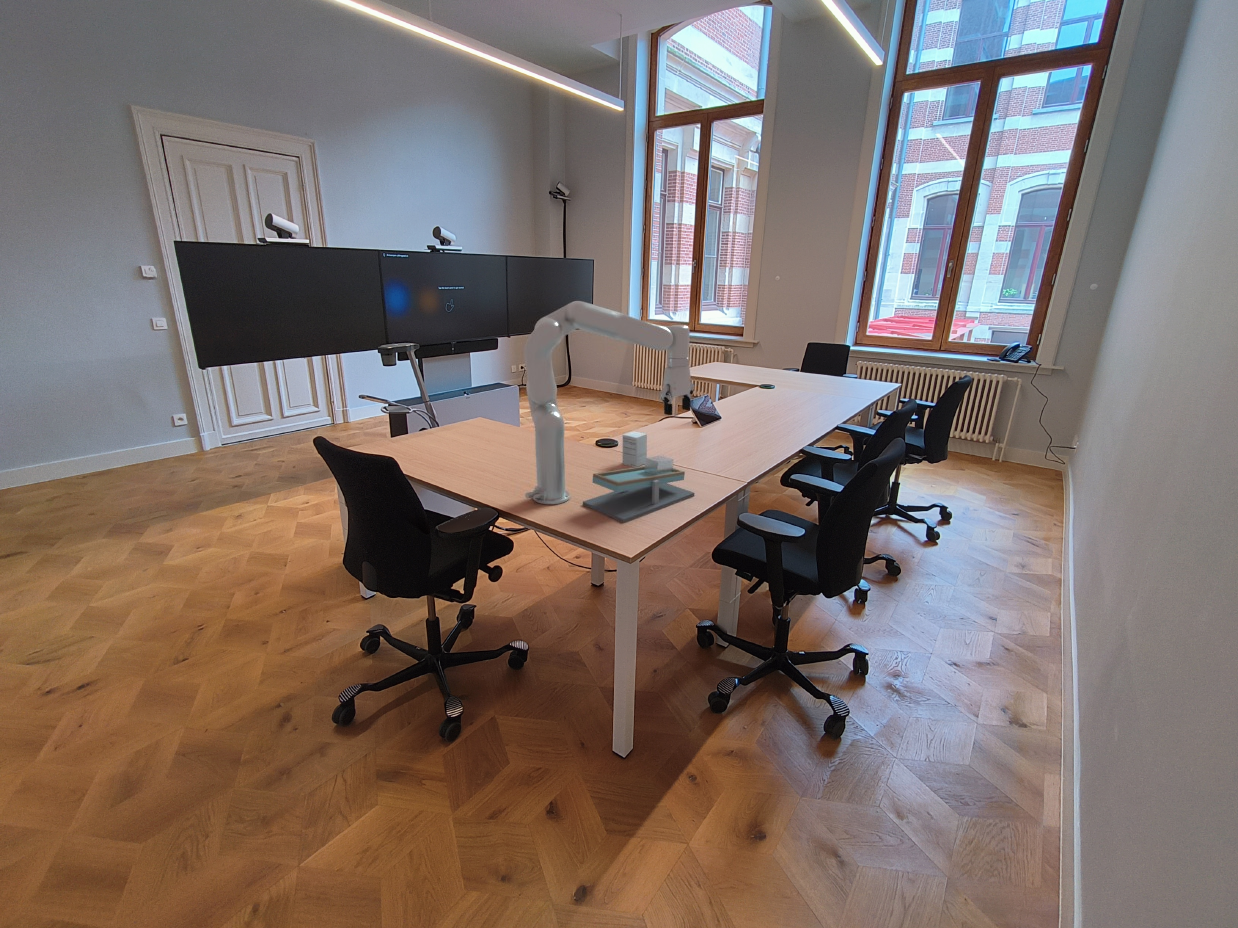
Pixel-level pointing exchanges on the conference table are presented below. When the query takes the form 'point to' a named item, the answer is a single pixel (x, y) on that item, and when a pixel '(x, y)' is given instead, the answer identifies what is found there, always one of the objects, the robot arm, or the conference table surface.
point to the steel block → (658, 465)
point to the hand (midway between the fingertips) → (677, 412)
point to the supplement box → (634, 449)
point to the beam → (633, 478)
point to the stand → (637, 501)
